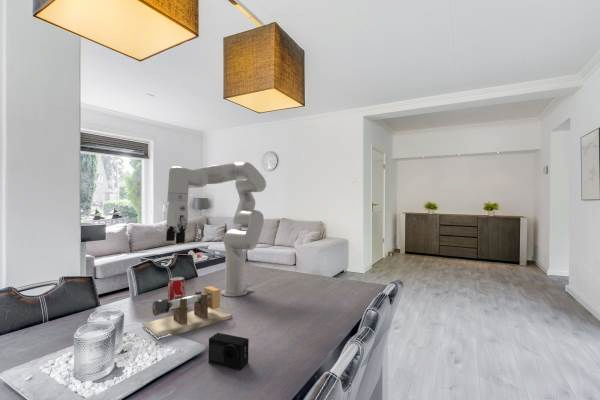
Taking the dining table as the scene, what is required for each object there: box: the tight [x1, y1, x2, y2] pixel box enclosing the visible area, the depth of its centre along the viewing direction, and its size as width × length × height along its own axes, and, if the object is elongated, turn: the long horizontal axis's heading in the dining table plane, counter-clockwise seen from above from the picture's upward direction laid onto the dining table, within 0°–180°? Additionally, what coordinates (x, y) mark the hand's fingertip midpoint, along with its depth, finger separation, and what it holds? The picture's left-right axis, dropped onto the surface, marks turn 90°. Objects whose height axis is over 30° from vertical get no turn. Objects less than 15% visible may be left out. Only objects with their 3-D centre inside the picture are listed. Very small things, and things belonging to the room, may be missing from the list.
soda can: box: [167, 276, 186, 301], centre depth 128 cm, size 7×7×12 cm
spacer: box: [203, 285, 221, 309], centre depth 118 cm, size 3×7×7 cm, turn 45°
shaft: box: [151, 292, 211, 317], centre depth 111 cm, size 24×5×5 cm, turn 135°
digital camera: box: [208, 332, 250, 371], centre depth 83 cm, size 10×5×7 cm, turn 70°
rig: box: [142, 290, 233, 338], centre depth 112 cm, size 28×14×10 cm, turn 135°
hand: (175, 241), depth 117 cm, fingers open, 9 cm apart
